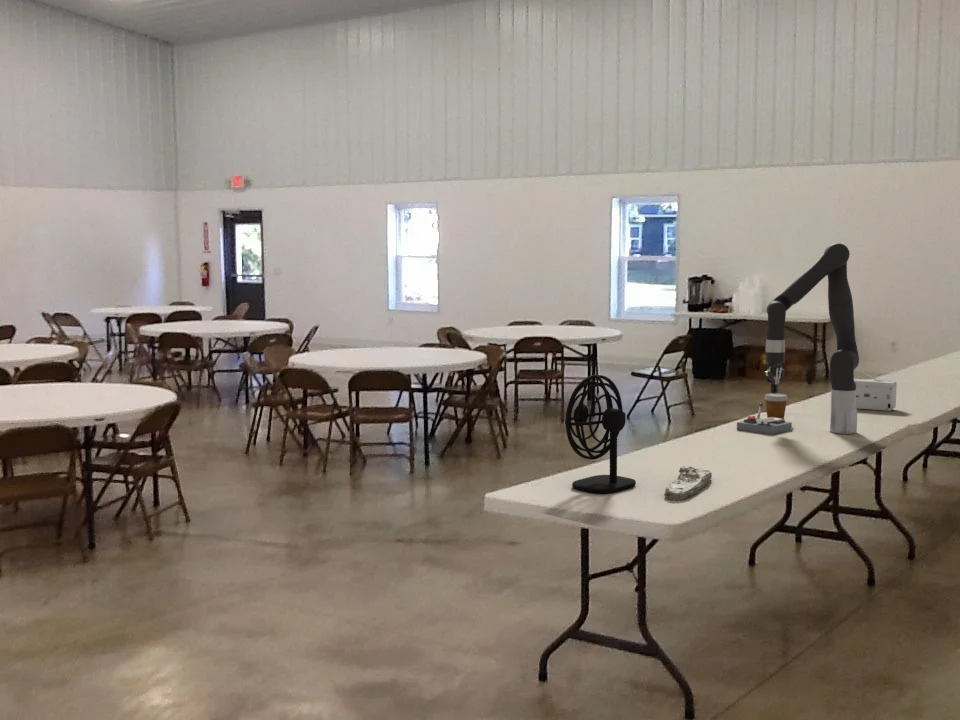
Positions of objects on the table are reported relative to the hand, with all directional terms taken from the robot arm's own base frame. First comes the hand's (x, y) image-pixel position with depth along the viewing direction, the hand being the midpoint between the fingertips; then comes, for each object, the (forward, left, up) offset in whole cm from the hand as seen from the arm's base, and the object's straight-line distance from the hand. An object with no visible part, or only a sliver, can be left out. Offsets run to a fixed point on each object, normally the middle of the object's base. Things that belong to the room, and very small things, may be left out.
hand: (774, 393), depth 414 cm
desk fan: (-14, +124, -15) cm, 126 cm away
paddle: (0, -1, -12) cm, 12 cm away
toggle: (+9, -2, -12) cm, 15 cm away
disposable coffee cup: (+8, -14, -15) cm, 22 cm away
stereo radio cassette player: (-3, -76, -15) cm, 78 cm away
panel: (+3, +3, -15) cm, 15 cm away
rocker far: (0, +7, -10) cm, 13 cm away
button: (+7, +6, -11) cm, 14 cm away
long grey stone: (-35, +107, -16) cm, 113 cm away
